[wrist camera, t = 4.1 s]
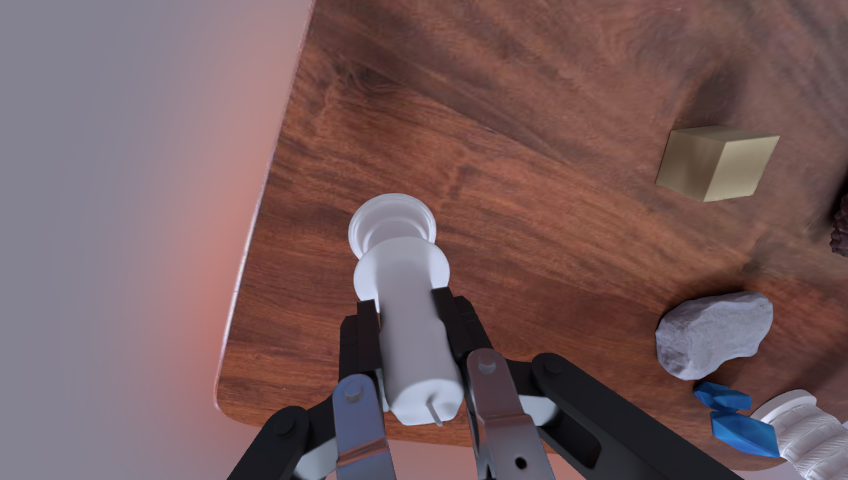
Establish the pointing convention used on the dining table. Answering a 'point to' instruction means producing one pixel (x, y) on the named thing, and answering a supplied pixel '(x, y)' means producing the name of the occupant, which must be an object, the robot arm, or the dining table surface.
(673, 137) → the block
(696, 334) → the stone block
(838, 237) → the pine cone
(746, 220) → the dining table surface
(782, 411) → the decorative container
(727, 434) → the crystal
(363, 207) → the candle
